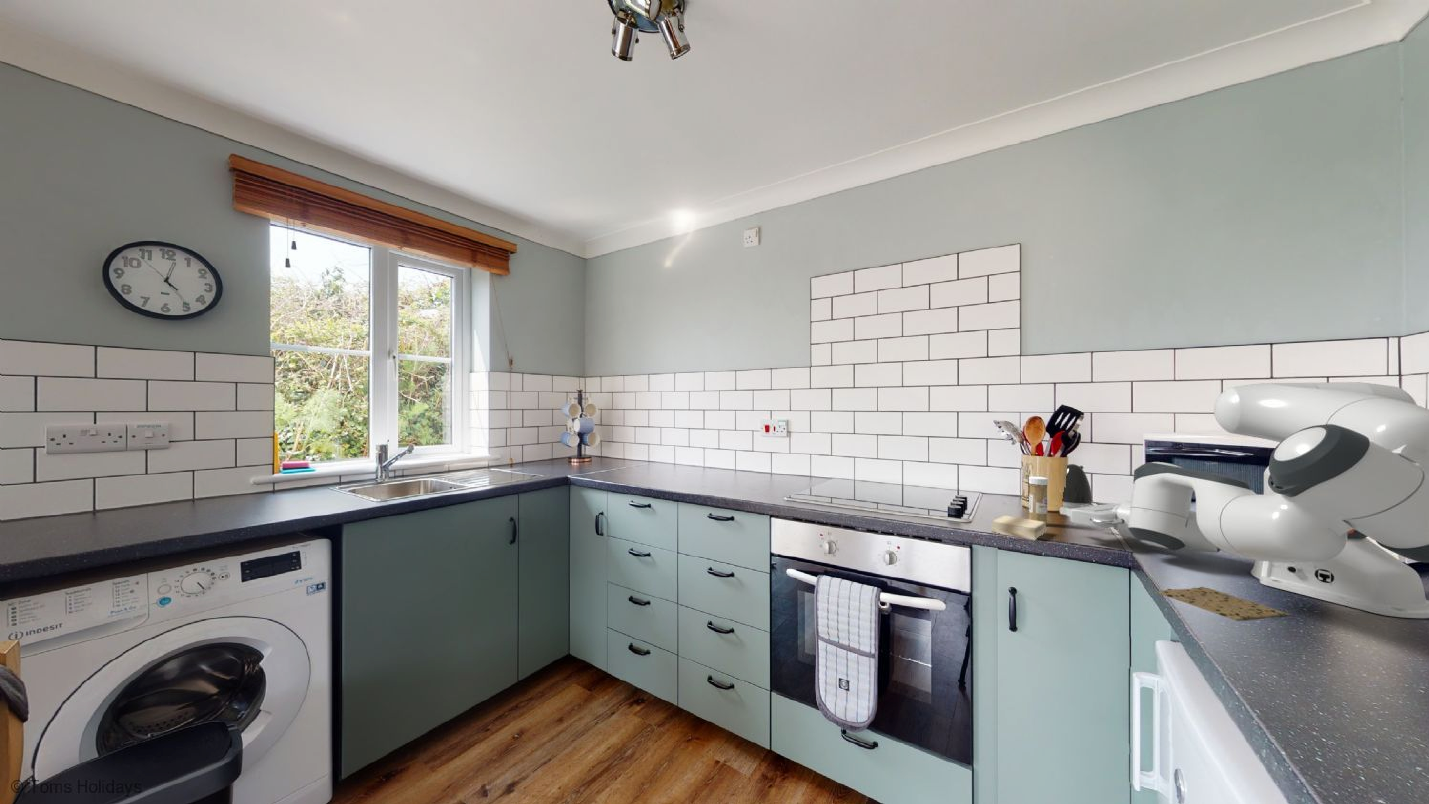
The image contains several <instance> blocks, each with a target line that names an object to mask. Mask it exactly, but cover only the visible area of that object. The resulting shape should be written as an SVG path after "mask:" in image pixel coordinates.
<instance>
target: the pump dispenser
mask: <svg viewBox="0 0 1429 804" xmlns="http://www.w3.org/2000/svg"><path fill="white" fill-rule="evenodd" d="M1066 465H1067V474H1066V488H1065V487H1064V492H1063V499H1062V501H1063V507H1067V508H1070V509H1072V508H1080V507H1081V505H1085V504H1086V505H1092V503H1093V493H1092V489H1091V486H1090V482H1089V479H1088V476H1087V474H1086V473H1085V471H1084V466H1083V465H1078V464H1074V463H1070V464H1066Z"/></svg>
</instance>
